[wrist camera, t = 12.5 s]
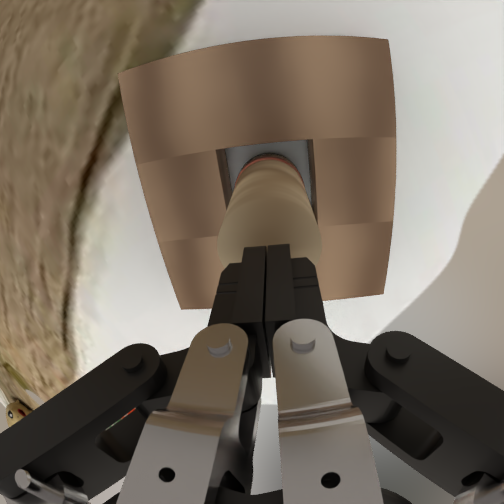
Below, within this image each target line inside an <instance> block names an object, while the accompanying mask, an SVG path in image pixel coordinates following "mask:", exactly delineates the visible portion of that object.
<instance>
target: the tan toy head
mask: <svg viewBox="0 0 504 504" xmlns="http://www.w3.org/2000/svg"><path fill="white" fill-rule="evenodd" d="M31 412H32V410H28V409H27V408H26V407H25V406H24V405H22V404H20V401H19V400H16V402H14V403H10V404H9V405H8V406H7V408H6V418H7V422H8V426H9V427H11V426H12V425H14V424H15V423H16V422H18V421H19V420H21V419H22V418H24V417H25V416H27V415H28V414H29V413H31Z"/></svg>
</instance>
